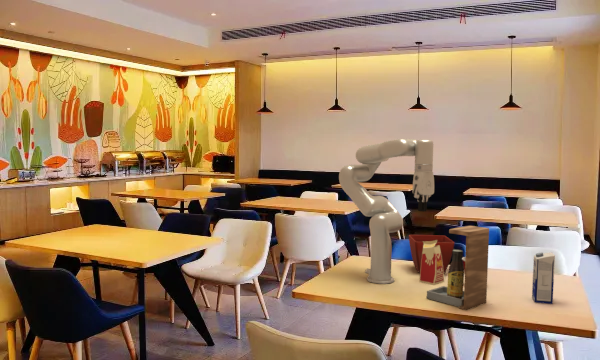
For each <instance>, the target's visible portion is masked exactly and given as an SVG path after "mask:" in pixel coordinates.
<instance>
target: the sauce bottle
mask: <svg viewBox="0 0 600 360" xmlns="http://www.w3.org/2000/svg"><path fill="white" fill-rule="evenodd" d="M463 255H464V251H463V250H461V249H453V251H452V258H451V259H452V261H450V262H451V263H449V265H448V273H447V274H448V275H447V285H446V287H447V296H451V297H455V298H459V299H462V296H463V291H464V283H465V273H464V265H463V260H462V258H463Z"/></svg>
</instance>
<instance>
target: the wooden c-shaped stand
mask: <svg viewBox="0 0 600 360" xmlns="http://www.w3.org/2000/svg"><path fill="white" fill-rule="evenodd" d="M448 233H449V234H453V235H461V236H465V254H464V255H465V256H464V257H465V273H464V282H463V291H464V305H461V306H459V308H458V309H460V310H463V311H468V310H469V311H470V310H471V309H475V308H477V307H480V306H483V305H485V304H487V292H488V291H487V290H488V269H489V241H490V228H489V227H482V226H477V225H476V226H475V225H465V226H460V227H459V226H458V227H455V228H450V229H449V230H448Z"/></svg>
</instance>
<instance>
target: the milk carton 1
mask: <svg viewBox="0 0 600 360" xmlns="http://www.w3.org/2000/svg"><path fill="white" fill-rule="evenodd" d="M423 243H424V245H423V252H422V259H421V269H420V273H419V283H423V284H428V285H432V286H435V285H439V284H442V283H445V274H444V270H443V262H442V256H441V251H440V245H439V244H438V243H437V240H435V241H426V242H423Z"/></svg>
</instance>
